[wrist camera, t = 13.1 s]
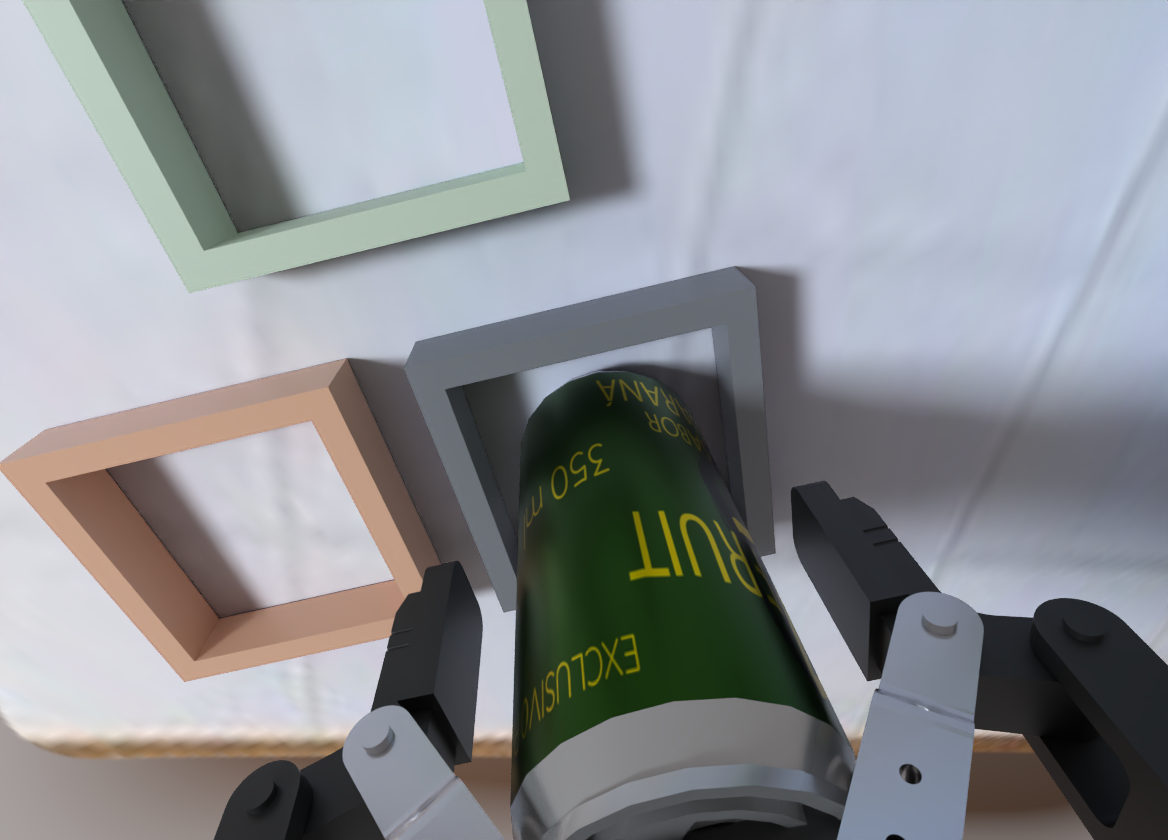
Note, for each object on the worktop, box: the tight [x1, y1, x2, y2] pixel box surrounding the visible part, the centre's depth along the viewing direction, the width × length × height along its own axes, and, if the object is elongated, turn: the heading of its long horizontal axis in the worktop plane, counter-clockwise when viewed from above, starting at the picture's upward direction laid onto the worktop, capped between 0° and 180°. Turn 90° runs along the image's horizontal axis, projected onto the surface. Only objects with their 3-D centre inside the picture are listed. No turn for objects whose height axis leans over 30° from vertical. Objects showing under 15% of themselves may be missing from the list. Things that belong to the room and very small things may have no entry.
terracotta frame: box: [0, 358, 441, 682], centre depth 18 cm, size 9×9×2 cm
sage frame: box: [22, 0, 570, 293], centre depth 12 cm, size 9×9×2 cm
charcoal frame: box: [404, 267, 776, 612], centre depth 18 cm, size 9×9×2 cm
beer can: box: [510, 370, 856, 840], centre depth 14 cm, size 5×5×12 cm
